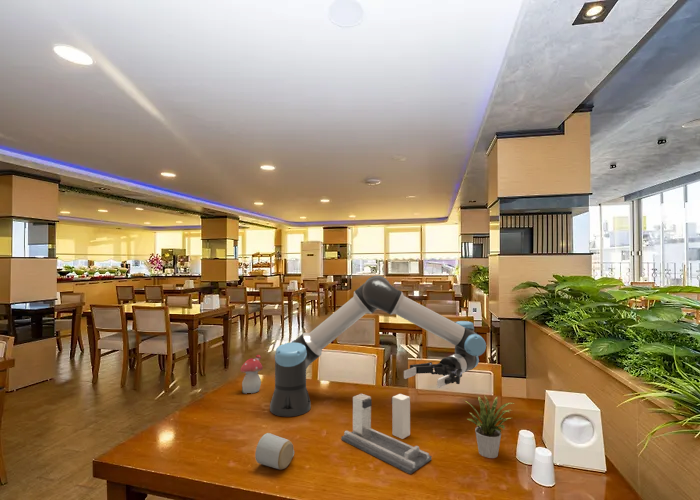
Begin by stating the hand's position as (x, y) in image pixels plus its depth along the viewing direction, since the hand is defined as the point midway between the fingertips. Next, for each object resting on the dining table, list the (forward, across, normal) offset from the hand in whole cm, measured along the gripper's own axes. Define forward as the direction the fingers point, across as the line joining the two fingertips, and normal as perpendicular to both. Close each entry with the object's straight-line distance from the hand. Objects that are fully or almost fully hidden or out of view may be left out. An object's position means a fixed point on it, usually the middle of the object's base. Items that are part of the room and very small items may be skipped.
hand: (420, 379), depth 125 cm
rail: (+22, -2, -15) cm, 27 cm away
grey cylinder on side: (+48, +15, -15) cm, 53 cm away
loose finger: (+11, 0, -15) cm, 19 cm away
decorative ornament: (+25, +70, -15) cm, 75 cm away
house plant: (+2, -26, -16) cm, 30 cm away
